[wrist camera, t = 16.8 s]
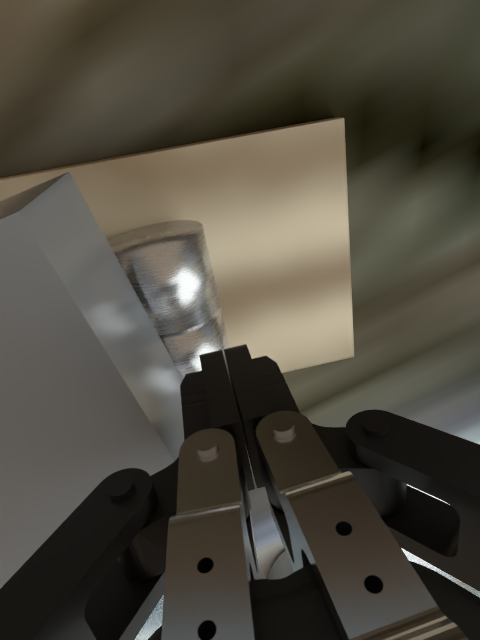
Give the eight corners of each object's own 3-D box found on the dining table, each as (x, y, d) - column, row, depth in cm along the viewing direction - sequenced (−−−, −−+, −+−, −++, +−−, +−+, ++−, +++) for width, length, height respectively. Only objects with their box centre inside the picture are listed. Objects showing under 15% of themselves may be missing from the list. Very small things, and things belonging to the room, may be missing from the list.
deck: (347, 347, 25) (435, 460, 17) (-173, 464, 23) (-348, 656, 15) (335, 117, 20) (456, 127, 12) (-347, 241, 18) (-767, 355, 10)
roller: (154, 417, 19) (148, 369, 22) (244, 390, 19) (225, 347, 23) (101, 263, 16) (104, 235, 19) (211, 236, 16) (194, 214, 20)
